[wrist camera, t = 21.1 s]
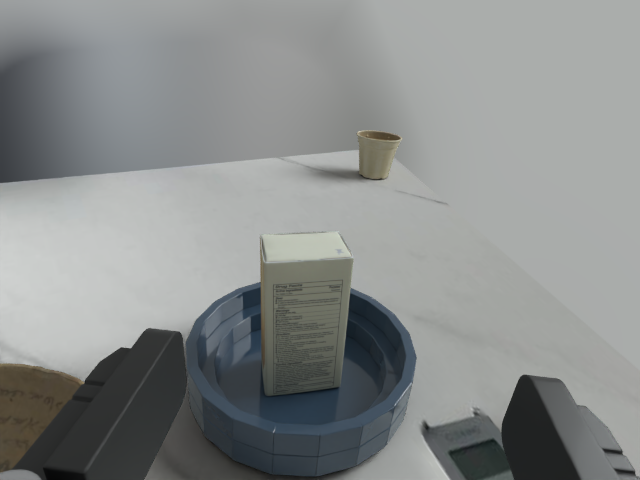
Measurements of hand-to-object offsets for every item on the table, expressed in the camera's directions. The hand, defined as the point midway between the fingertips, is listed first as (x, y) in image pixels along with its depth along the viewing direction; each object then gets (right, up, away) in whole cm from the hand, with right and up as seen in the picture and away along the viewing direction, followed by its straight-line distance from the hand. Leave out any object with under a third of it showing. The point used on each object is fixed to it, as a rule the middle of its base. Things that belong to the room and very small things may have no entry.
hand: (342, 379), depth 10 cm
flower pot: (+11, +17, +79) cm, 81 cm away
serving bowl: (-2, -8, +25) cm, 26 cm away
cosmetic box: (-2, -8, +24) cm, 26 cm away
